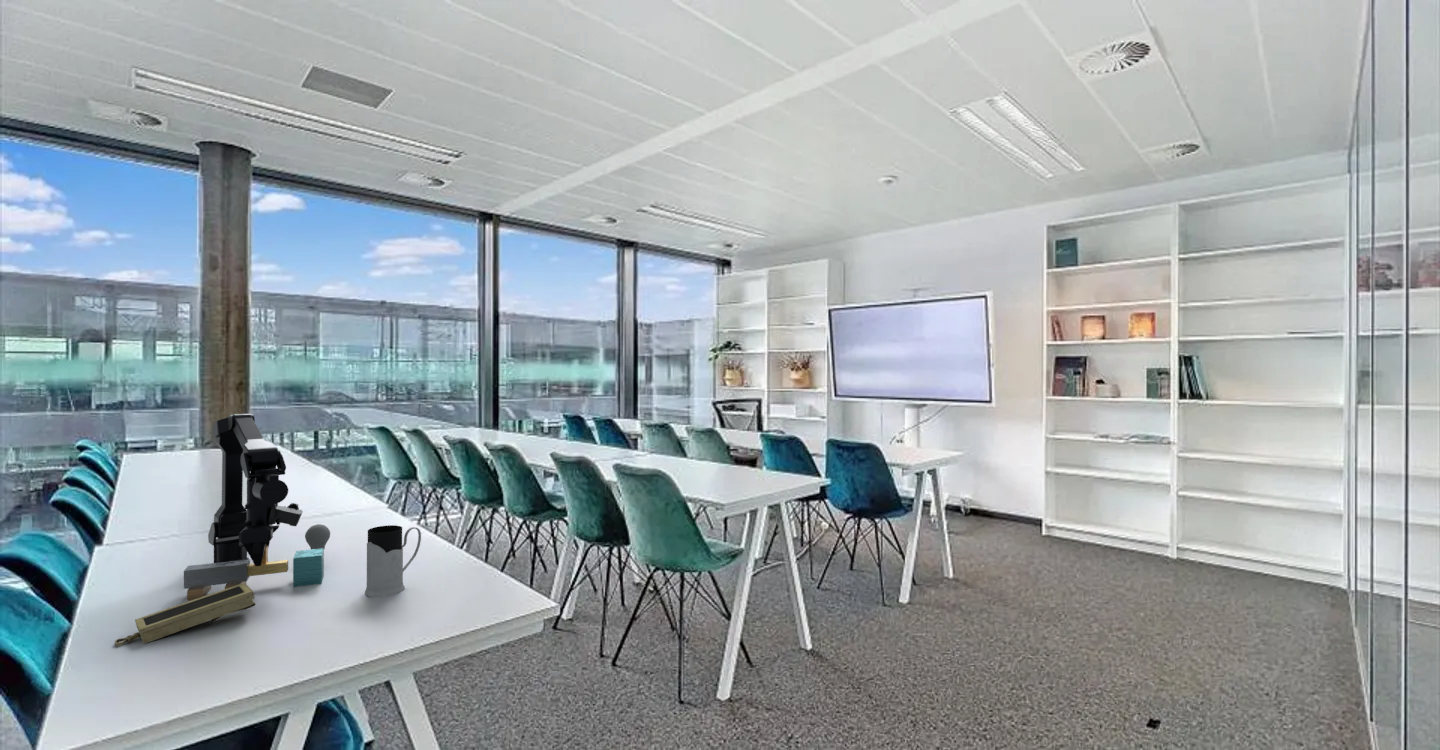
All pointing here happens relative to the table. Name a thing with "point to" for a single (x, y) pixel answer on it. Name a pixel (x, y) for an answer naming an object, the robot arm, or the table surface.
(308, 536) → the light bulb
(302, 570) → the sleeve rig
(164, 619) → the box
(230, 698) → the table surface
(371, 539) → the glass holder
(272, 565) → the yellow sliding bolt
